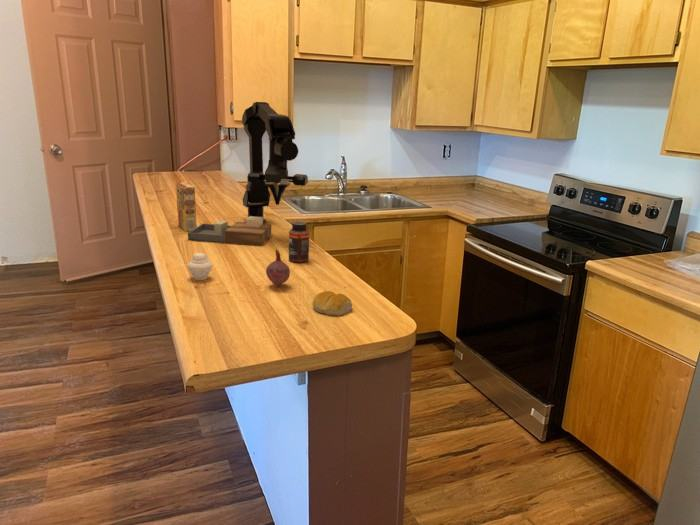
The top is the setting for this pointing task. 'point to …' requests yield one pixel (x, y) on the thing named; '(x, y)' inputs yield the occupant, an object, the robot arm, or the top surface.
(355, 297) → the top surface
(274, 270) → the vegetable
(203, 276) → the white lidded jar
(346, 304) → the bread roll
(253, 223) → the cream tile
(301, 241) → the supplement bottle
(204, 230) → the tray
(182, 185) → the candy box
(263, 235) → the walnut board
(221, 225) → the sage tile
